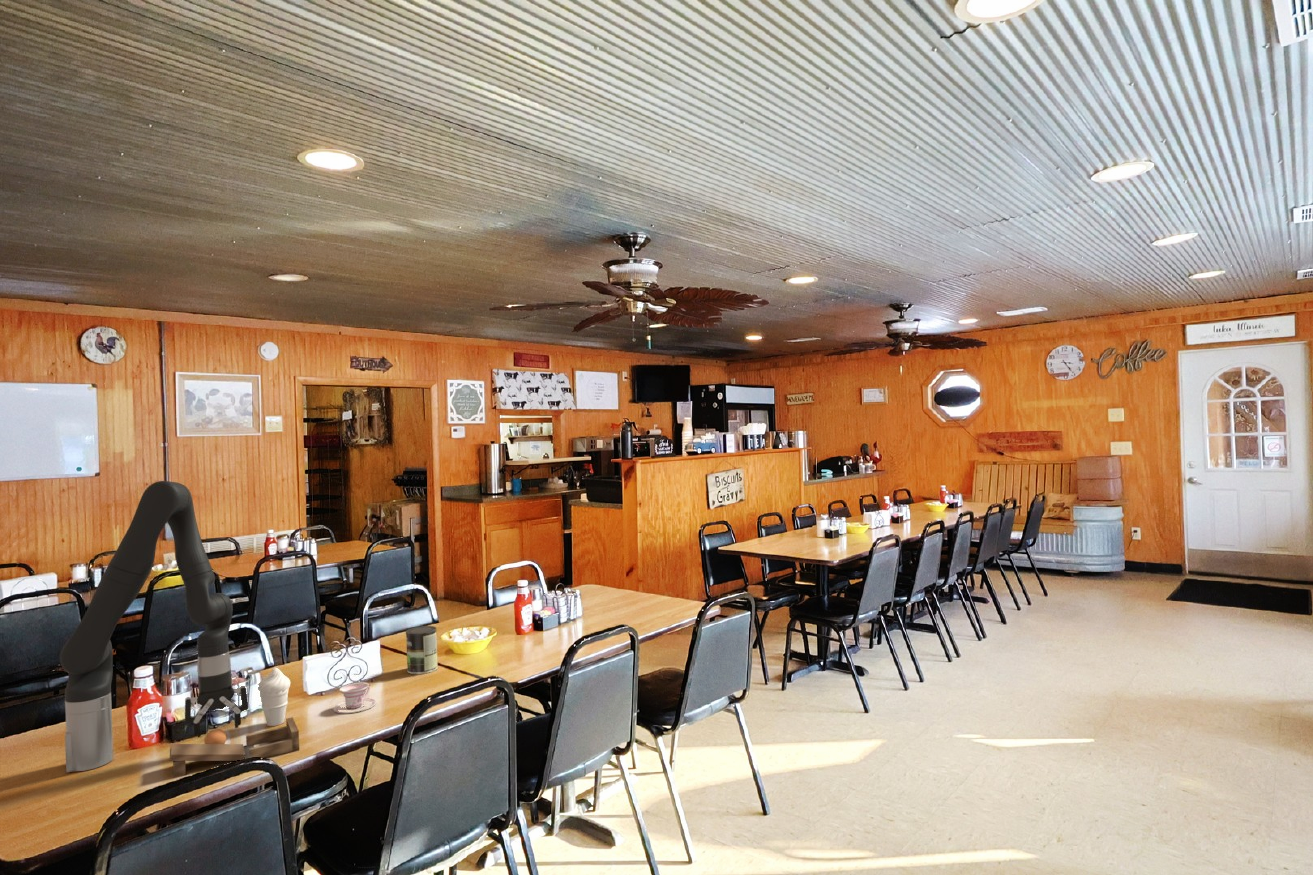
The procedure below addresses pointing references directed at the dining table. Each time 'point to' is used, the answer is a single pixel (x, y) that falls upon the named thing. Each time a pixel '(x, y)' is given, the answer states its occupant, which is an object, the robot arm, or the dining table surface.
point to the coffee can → (421, 650)
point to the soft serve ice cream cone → (274, 696)
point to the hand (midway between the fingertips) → (218, 731)
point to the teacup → (354, 697)
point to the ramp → (203, 754)
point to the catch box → (273, 741)
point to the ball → (216, 737)
